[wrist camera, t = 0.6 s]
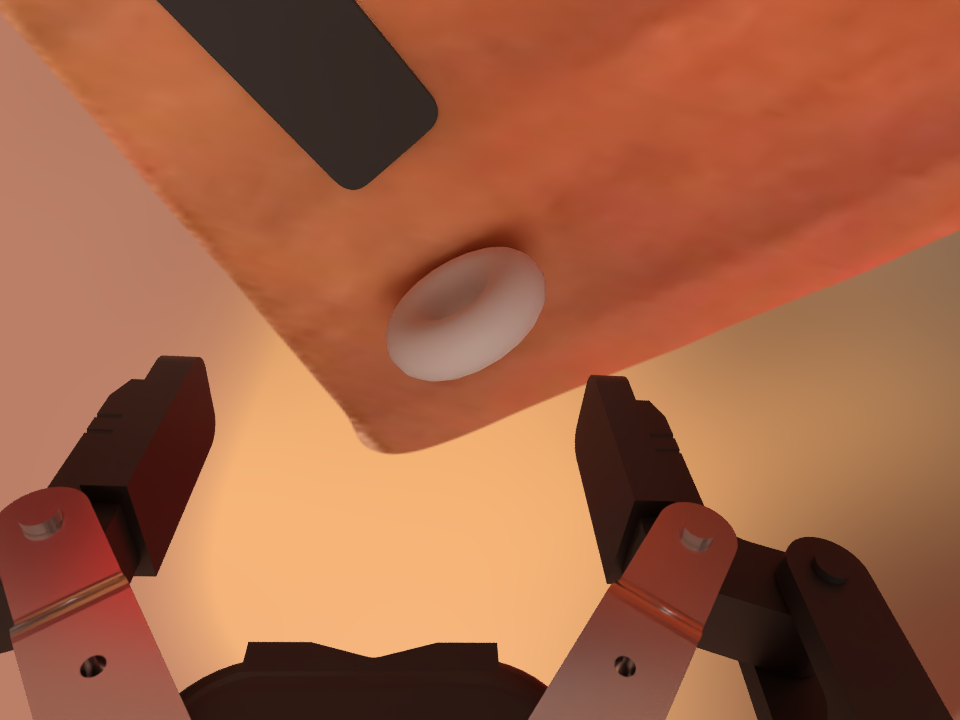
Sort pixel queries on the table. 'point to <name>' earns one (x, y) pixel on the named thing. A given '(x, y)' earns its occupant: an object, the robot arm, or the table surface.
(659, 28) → the table surface
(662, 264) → the table surface
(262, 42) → the phone
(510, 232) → the table surface
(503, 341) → the donut
